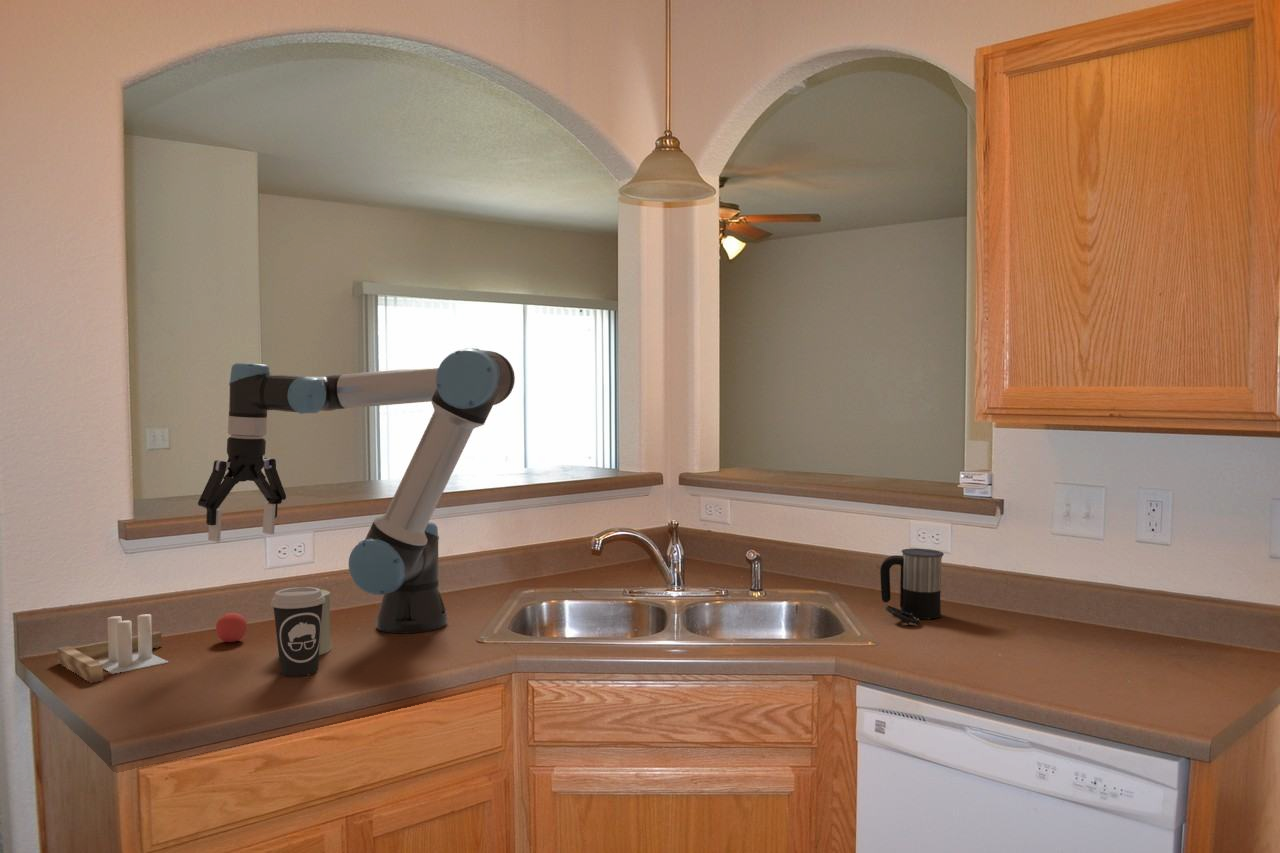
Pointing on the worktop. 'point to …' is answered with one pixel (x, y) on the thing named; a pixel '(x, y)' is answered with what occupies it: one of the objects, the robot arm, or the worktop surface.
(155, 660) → the pin deck mark
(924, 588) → the milk frother
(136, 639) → the wooden angle block
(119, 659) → the pin
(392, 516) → the robot arm
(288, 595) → the coffee cup
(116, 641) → the pin
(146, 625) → the pin front
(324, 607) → the can
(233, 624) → the ball
